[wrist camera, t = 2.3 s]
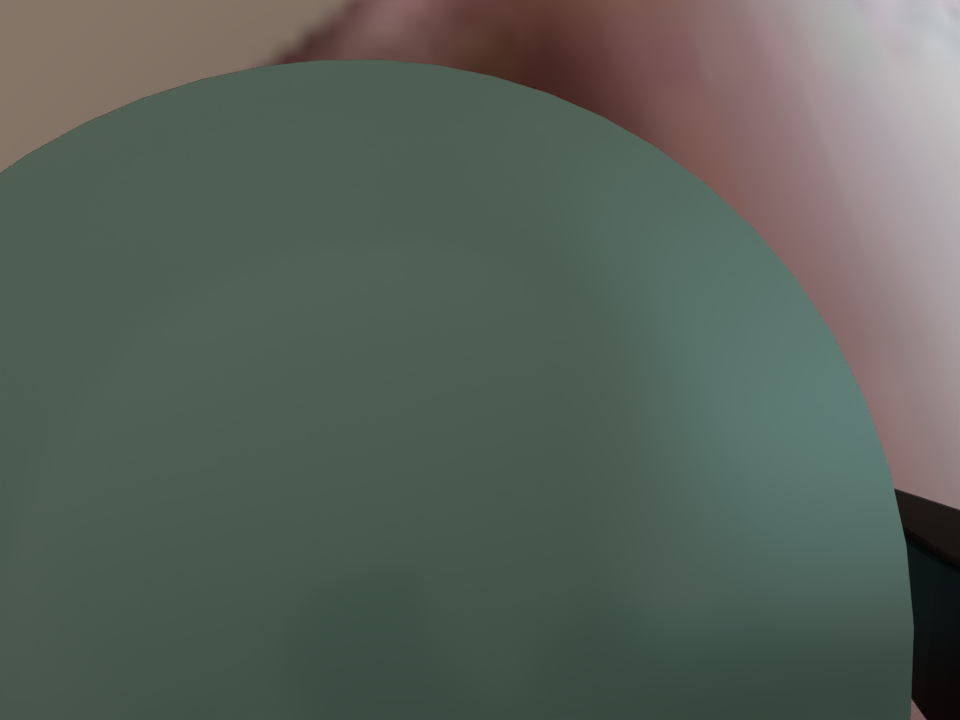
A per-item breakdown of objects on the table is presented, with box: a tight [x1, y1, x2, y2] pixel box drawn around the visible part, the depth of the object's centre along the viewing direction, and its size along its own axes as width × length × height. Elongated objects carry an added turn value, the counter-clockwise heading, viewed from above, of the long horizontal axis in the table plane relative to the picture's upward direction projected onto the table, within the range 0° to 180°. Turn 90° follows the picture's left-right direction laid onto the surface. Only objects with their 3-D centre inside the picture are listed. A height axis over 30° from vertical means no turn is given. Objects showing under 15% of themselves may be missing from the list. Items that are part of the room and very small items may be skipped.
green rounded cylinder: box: [0, 60, 914, 720], centre depth 10 cm, size 6×6×12 cm
